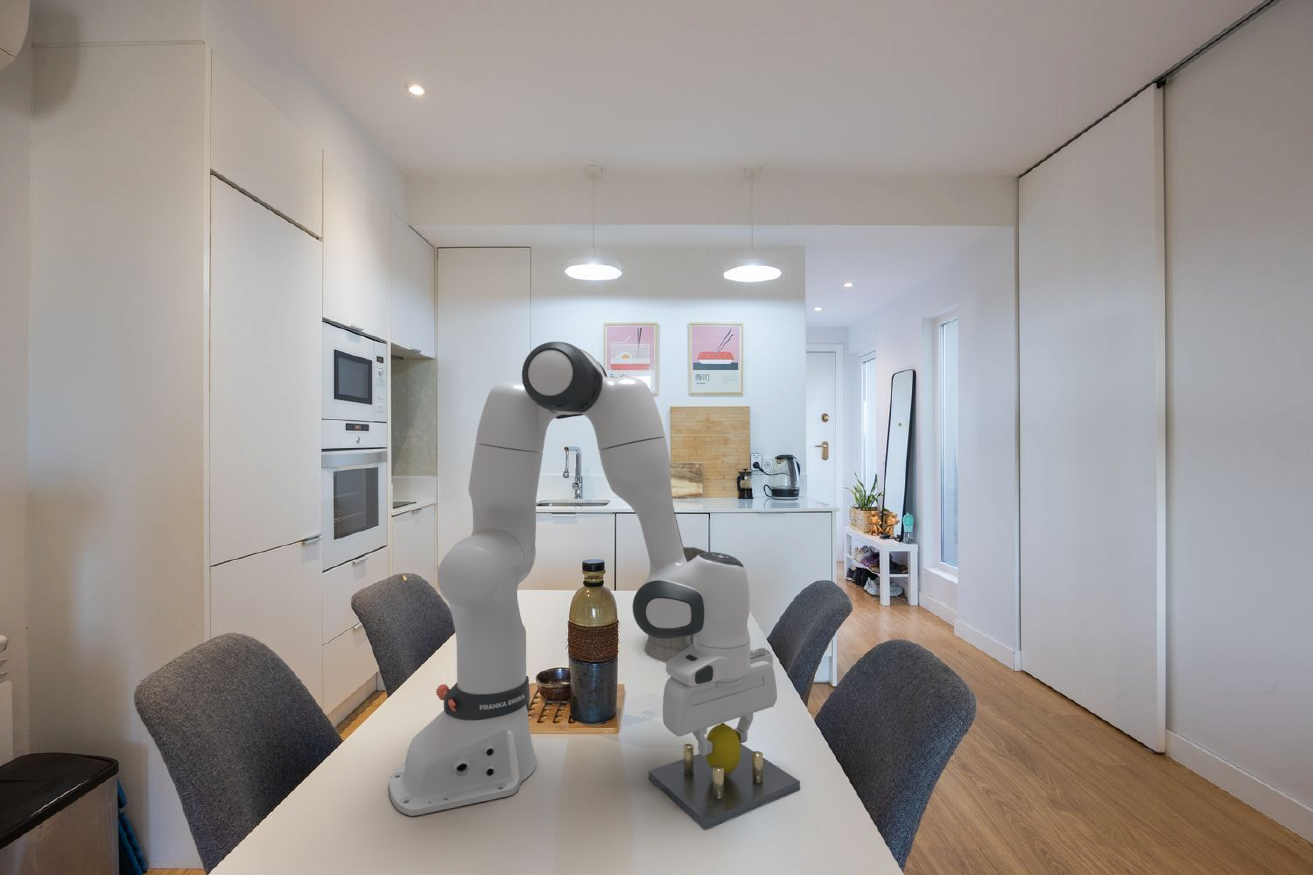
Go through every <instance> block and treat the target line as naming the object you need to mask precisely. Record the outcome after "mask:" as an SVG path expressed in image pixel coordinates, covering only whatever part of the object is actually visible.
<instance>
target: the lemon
mask: <svg viewBox="0 0 1313 875" xmlns="http://www.w3.org/2000/svg"><path fill="white" fill-rule="evenodd" d="M734 729H735V728H733V727H731V726H729V725H727V724H726V722H723V723H720V724H717V725H714V726H713V727H712V728H711V729H710V730H709V732H708V734H707V736H706V739H707V740H708V741H710V742H712V743H713V748H712V750H713V753H712V754H710V755H707V756H706V759H707V762H708V764H709V766H710V767H711V768H712V769H713V767H714V766H716V765H720V766H723V768H724V776H725V775H726V774H728V773H731V772H732V771H734V770H735V769H736V767H737V766H738V764H739V761H740V756H741V745H740V741H739V738H738V735H737V733H736V732H735V730H734Z"/></svg>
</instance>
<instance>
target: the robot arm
mask: <svg viewBox="0 0 1313 875" xmlns="http://www.w3.org/2000/svg"><path fill="white" fill-rule="evenodd" d="M521 379H522V381H520V380H507V381H502V382H500V383H499V382H498V384H496V385H494V386H492V388H491V389H490V391H489V392H488V395H487V398H486V401H485V403H484V406H483V409H482V411H481V416H480V419H479V423H478V426H477V431H476V432H477V433H476V436H475V443H474V450H473V456H472V463H471V469H470V474H469V475H470V476H469V483H468V494H469V497H470V500H471V504H472V505H471V506H472V533H471V535H470V536H468V537H465V538H463V539H461V540H460V541H458V542H456V543H455V544H454V545H453V546H452V547H451V549H449V550H448V552H447V553H445V554H446V555H445V556H444V557H443V559H442V560H441V562H440V564H439V566H438V569H437V585H438V588H439V591H440V593H441V594H442V596H443V598H445V600H446V601H447V602H448V605H449V609H450V613H451V617H452V622H453V627H454V632H455V639H456V641H455V642H456V683H455V684H454V685H453V686H452V687H451V688H450V687H449V686H448V685H447V684H445V683H443V684H442V683H441V684H439V686H438V687H437V688H435V689H436V691H435V693H436V696H437V698H438V699H439V700H441V701H443V711H442V712H440V713H439V714H438V715H437V716H436V717H435V718H434V719H432V720H431V721H430V723H428V724H427V725H425V726H424V727H423V728H422V729H421V730H420V731H419V732H418V733H417V734H416V735H415V736H413V738H412V739H411V741H410V743H409V745H408V748H407V752H406V756H405V757H406V758H405V763H404V764H403V765H401V766H398V767H396V769H395V770H394V771H393V772H392V774H391V775H390V778H389V779H390V780H389V785H388V786H389V787H388V792H389V797H390V799H391V803H392V804H393V806H394V807H395V808H396V809H397V811H399V812H401V813H402V814H405V815H406V816H410V817H414V816H421V815H425V814H429V813H433V812H435V813H436V812H440V811H443V810H444V811H445V810H449V809H453V808H454V809H455V808H459V807H463V806H467V805H472V804H477V803H481V802H486V801H492V800H497V799H500V798H506V797H511V796H513V795H514V794H516V792H517V791H518V789H520V786H521V783H523V781H524V780H526V779H527V778H528V777H529V776H531V774H532V773H533V772H534V770H535V769H536V767H537V762H538V761H537V756H536V753H535V750H534V747H533V742H532V737H531V731H530V723H529V714H528V711H530V700H531V699H530V698H531V689H530V680H529V676H528V675H527V629H526V627H525V625H524V624H523V621H522V617H521V612H520V607H519V600H518V589H519V585H520V584H521V583H522V582H523V581H524V580H525V579H526V578H528V576H529V574H530V573H531V571H532V570H533V568H534V567H533V566H534V565H535V561H536V557H537V556H536V555H537V547H536V539H537V538H536V536H537V532H536V530H537V496H538V488H539V481H540V474H541V468H542V463H543V462H542V461H543V454H544V453H543V452H544V447H545V441H546V440H545V439H546V434H547V430H548V428H549V426H550V423H551V422H552V421H553V420H554V419H557V420H561V419H567V418H572V417H580V416H585V417H586V418H587V419H588V420H589V421H590V423H591V425H592V428H593V430H594V434H595V437H596V438H595V439H596V443H597V448H598V451H599V452H598V453H599V458H600V463H601V466H602V470H603V473H604V475H605V478H606V480H607V483H608V486H609V488H610V490H611V491H612V492H613V493H614V494H615V495H616V496H617V497H619V498H620V499H622V500H623V501H624V502H625V503H627V504H628V505H629V506H630V507H631V509H632V510H633V511H634V513H635V514H636V516H637V519H638V520H639V523H640V527H641V531H642V535H643V538H644V543H645V548H646V551H647V555H648V559H649V573H648V576H647V579H646V580H645V581H644V582H643V583H642V585H641V586H640V587H639V589H638V590H637V591H636V593H635V595H634V597H633V600H632V615H633V618H634V621H635V623H636V624H637V626H638V628H640V630H642V632H644V633H645V634H646V635H649V636H651V637H654V638H658V639H669V638H678V637H685V636H690V635H693V637H694V643H693V644H692V645H690V646H689V647H688V648H686V649H685V650H684V651H682V652H681V653H679V654H678V655H676V656H674V657H673V658H671V659H670V660H668V661H667V663H665V671H666V673H667V674H668V676H669V678H668V679H667V680H666V682H665V684H664V688H663V698H662V723H663V724H664V727H666V729H667V730H668V731H670V732H671V733H672V734H674V735H675V736H677V737H682V736H685V735H689V734H693V736H694V738H695V740H696V741H697V745H698V746H697V750H698V754H699V753H700V754H701V755H703V756H707V755H710V754H712V753H713V750H712V748H713V743H712V742H710V741H708V740H707V737H705V735H708V734H707V733H708V728H711V727H715V726H717V725H720V724H721V723H726V722H730V721H732V720H736V719H739V720H738V722H737V726H736V727H735V728H733V729H734V730H735V732H736V733H737V735H738V738H739V741H740V743H741V744H743V743H747V742H748V731H749V729H750V727H751V725H752V723H753V720H754V713H757V712H760V711H763V710H767V709H770V708H773V707H774V706H775V704H776V702H777V700H778V691H777V690H778V689H777V682H776V681H777V680H776V675H775V670H774V664H773V662H774V659H773V654H772V653H771V652H770V651H769V650H768V649H766V647H759V648H757V649H753V650H751V636H750V632H749V628H748V619H749V616H750V612H751V611H750V610H751V609H750V590H749V589H750V588H749V580H748V574H747V571H746V567H745V566H744V564H742V562H741V561H740V560H739V559H738V558H736V557H734V556H731V555H728V554H725V553H722V552H716V551H715V552H714V551H706V552H703V553H700V554H698V555H697V556H696V557H695V558H694V559H692V560H691V561H689V560H688V558H687V556H686V554H685V551H684V548H683V547H684V545H683V541H682V537H681V532H680V529H679V525H678V520H677V517H676V511H675V507H674V502H673V492H672V491H673V490H672V489H673V488H672V476H671V475H672V474H671V463H670V456H669V455H670V454H669V449H668V448H669V447H668V443H667V438H666V434H665V433H666V432H665V429H664V426H663V422H662V418H661V415H660V412H659V408H658V407H657V404H656V401H655V398H654V396H653V394H652V392H651V389H650V387H649V386H648V384H647V383H646V382H644V381H643V380H642V379H640V378H637V377H634V376H618V377H614V378H613V377H608V375H607V373H606V371H605V369H604V366H602V365H601V362H599V361H597V360H596V359H595V357H594V356H593V355H591V354H590V353H589V352H587V351H585V350H583V349H581V348H578V347H577V346H575V345H573V344H571V343H568V342H565V341H564V342H563V341H549V342H545V343H542V344H540V345H538V346H536V347H535V348H533V349H532V350H531V351H530V353H529V354H528V355H527V356H526V358H525V359H524V362H523V365H522V370H521Z"/></svg>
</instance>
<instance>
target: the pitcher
mask: <svg viewBox="0 0 1313 875" xmlns="http://www.w3.org/2000/svg"><path fill="white" fill-rule="evenodd" d="M683 548H684V551H685V554H686V556H687V558H688V560H689V561H691V560H692V559H694V558H695V557H696V556H697V555H698V554H700V553H703V552H707V551H706V550H705V549H702V548H697V547H696V546H695V547H694V546H683ZM647 635H648V634H647ZM647 637H648V638H647V640H646V644H645V646H644V649H643V652H644V653H645V654H646V656H647V657H649V658H651V659H653V660H655V661H657V662H661V663H665V664H666V663H667V661H668V660H670V659H671V658H673V657H674V656H676V655H678V654H679V653H681V652H682V651H684V650H685V649H686V648H688V647H689V646H690V645H692V644H693V643H694V637H693V635H690V636H685V637H678V638H669V639H658V638H654V637H651V636H649V635H648V636H647Z"/></svg>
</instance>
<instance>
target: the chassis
mask: <svg viewBox="0 0 1313 875" xmlns="http://www.w3.org/2000/svg"><path fill="white" fill-rule="evenodd" d="M740 745H741V756H740V761H739V764H738V766H737V767H736V769H735V770H734V771H732V772H731V773H728V774H726V775H725V776H724V768H723V766H720V765H716V766H714V767H713V769H712V768H711V767H710V766H709V764H708V762H707V759H706V756H703V755H701V754H700V753H699V752H698V753H697V754H695V755H694V745H693V744H691V743H685V744H683V758H682V759H680V760H677V761H673V762H671V763H667V764H665V765H662V766H660V767H659V766H658V767H656V768H653V769H650V770H648V774H647V775H648V780H649V781H650V782H652V784H654V785H655V787H657V788H658V789H659V790H660V791H662V792H663V793H664V794H665V795H666V796H667V797H668V798H669V799H670V800H671V801H673V802H674V803H675V804H676V805H677V806H678V807H679V808H680V809H681V810H682V811H684V812H685V813H686V814H687V815H688V816H689V817H690V818H691V819H692V820H694V822H696V824H698V825H699V826H701V828H702V829H703V830H705V831H706V830H708V829H711V828H713V827H716V826H718V825H721V824H722V823H725V822H727V821H729V820H732V819H734V818H737V817H739V816H741V815H743V814H745V813H747V812H750V811H753V810H754V809H757V808H760V807H762V806H764V805H767V804H769V803H771V802H774V801H775V800H779V799H780V798H783V797H785V796H788V795H790V794H792V793H794V792H796V791H798V790H801V781H800V780H799V779H797V778H795V777H794V776H792V775H791V774H789V773H788V772H787V771H785V770H783V769H781V768H780V767H779V766H777V765H775V764H774V763H773V762H771V761H769V759H766V758H764V755H763V754H764V753H763V752H762V751H759V750H755V751H754V750H752V749H751V748H749V747H748V746H746V745H744V744H743V743H740Z"/></svg>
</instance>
